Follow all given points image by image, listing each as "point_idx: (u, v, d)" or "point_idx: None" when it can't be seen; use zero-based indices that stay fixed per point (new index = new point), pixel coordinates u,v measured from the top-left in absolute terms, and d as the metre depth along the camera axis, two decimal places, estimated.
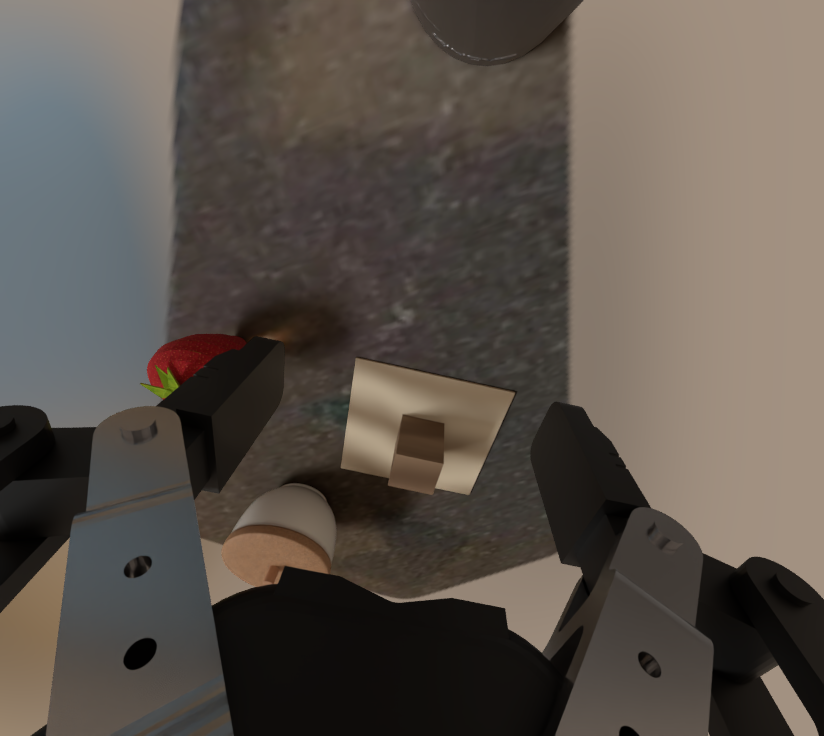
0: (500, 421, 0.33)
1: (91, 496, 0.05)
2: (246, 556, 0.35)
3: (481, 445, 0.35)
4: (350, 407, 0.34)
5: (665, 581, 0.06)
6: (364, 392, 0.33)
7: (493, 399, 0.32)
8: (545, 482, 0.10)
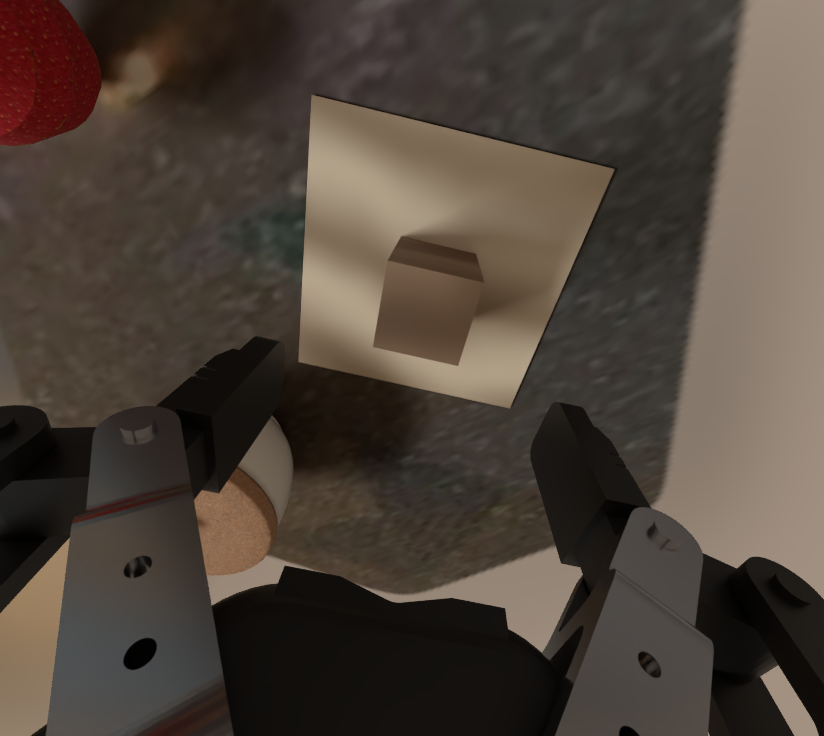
0: (578, 243, 0.18)
1: (91, 496, 0.05)
2: None
3: (539, 300, 0.20)
4: (307, 224, 0.19)
5: (665, 581, 0.06)
6: (331, 185, 0.18)
7: (571, 188, 0.17)
8: (545, 482, 0.10)
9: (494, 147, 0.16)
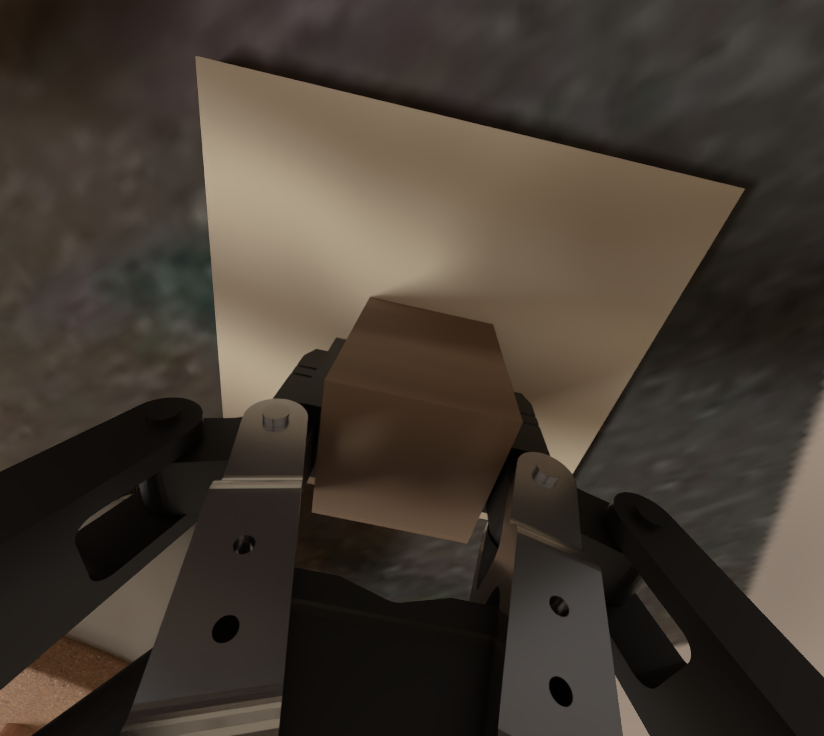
0: (665, 309, 0.11)
1: (228, 467, 0.06)
2: None
3: (593, 393, 0.12)
4: (216, 278, 0.11)
5: (554, 516, 0.06)
6: (248, 216, 0.10)
7: (662, 222, 0.10)
8: None
9: (529, 150, 0.09)
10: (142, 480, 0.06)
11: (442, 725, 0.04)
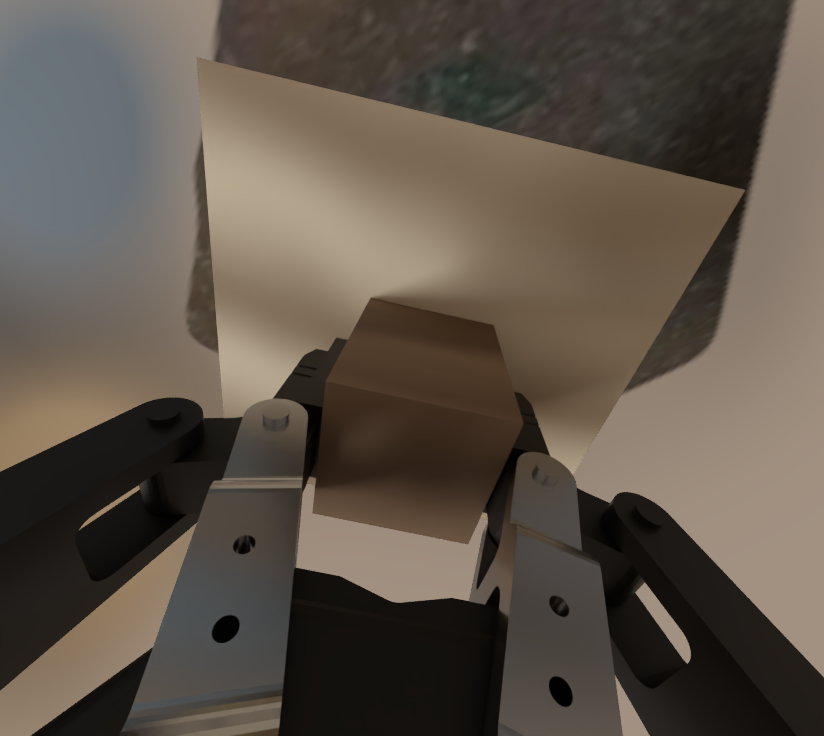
0: (666, 310, 0.11)
1: (229, 467, 0.06)
2: None
3: (593, 394, 0.12)
4: (217, 279, 0.11)
5: (554, 515, 0.06)
6: (249, 217, 0.10)
7: (662, 223, 0.10)
8: None
9: (530, 152, 0.09)
10: (142, 480, 0.06)
11: (442, 725, 0.04)
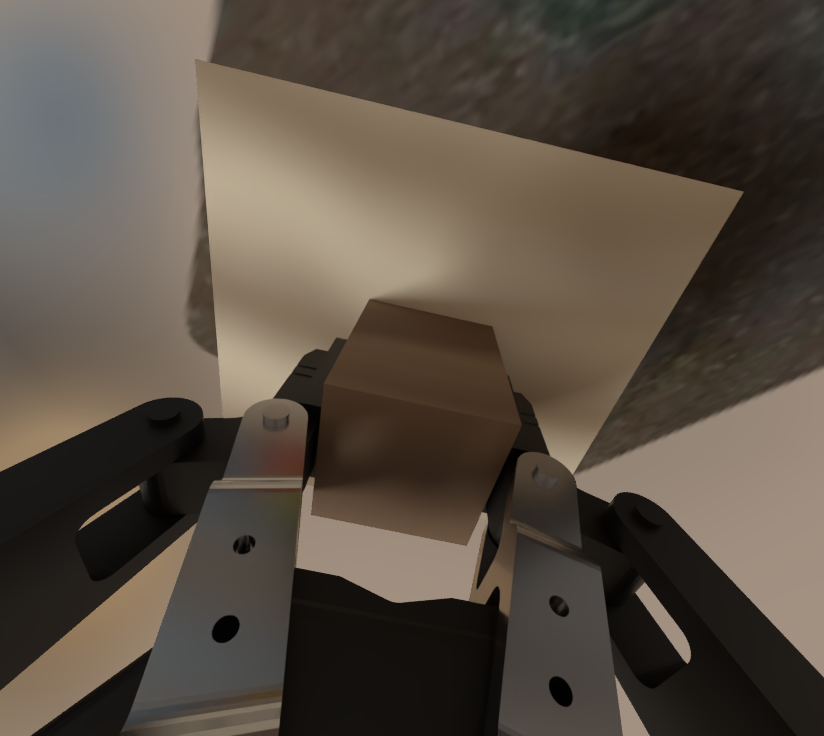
0: (665, 312, 0.11)
1: (228, 467, 0.06)
2: None
3: (592, 395, 0.12)
4: (215, 280, 0.11)
5: (554, 515, 0.06)
6: (247, 218, 0.10)
7: (661, 224, 0.10)
8: None
9: (528, 154, 0.09)
10: (142, 480, 0.06)
11: (442, 725, 0.04)
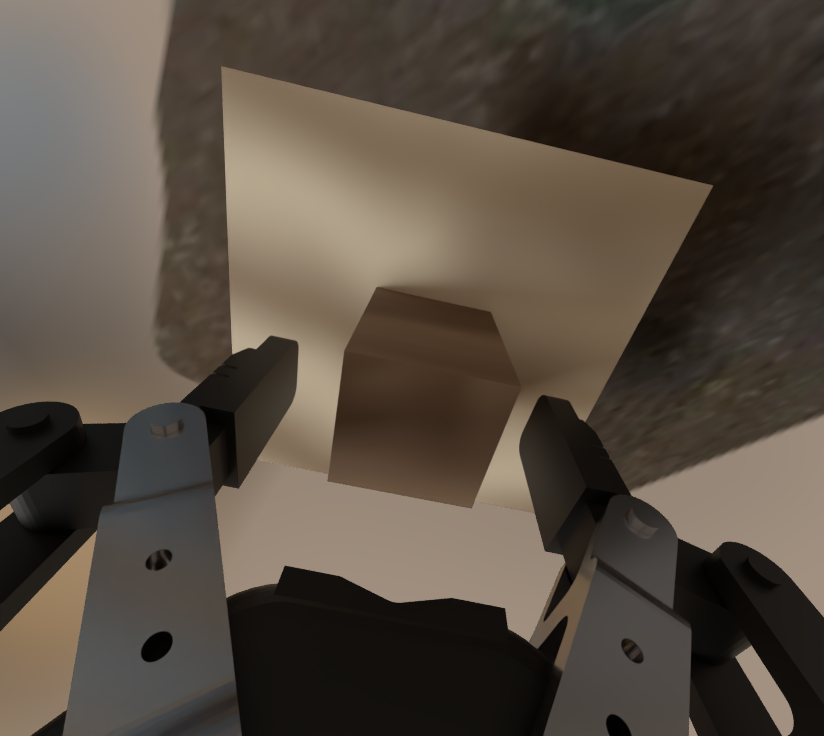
0: (647, 296, 0.12)
1: (118, 488, 0.05)
2: None
3: (583, 376, 0.13)
4: (232, 270, 0.12)
5: (644, 566, 0.06)
6: (264, 212, 0.11)
7: (641, 215, 0.11)
8: (532, 473, 0.10)
9: (522, 152, 0.10)
10: (19, 493, 0.05)
11: (487, 718, 0.04)
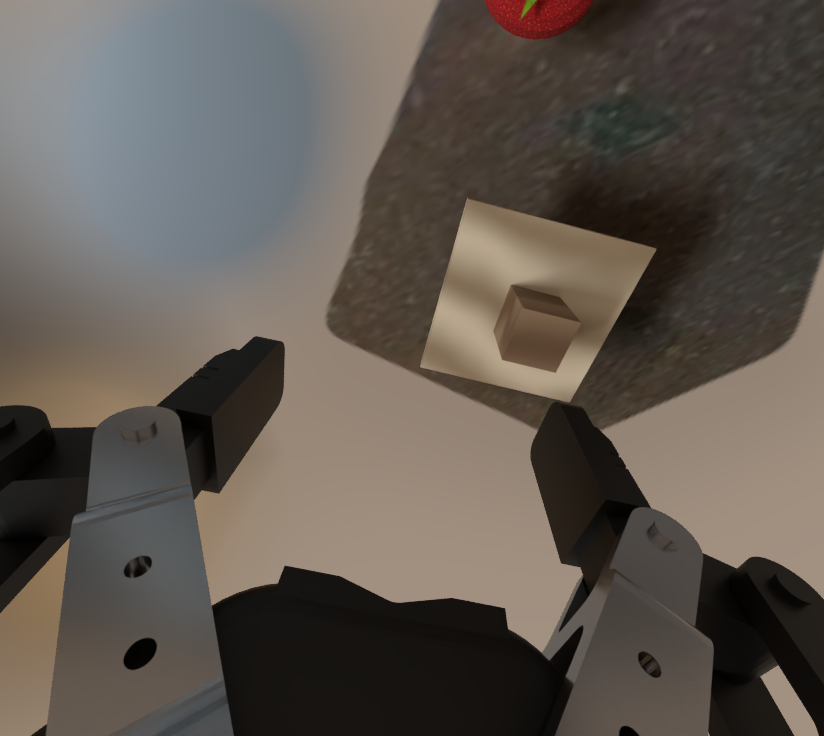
0: (629, 292, 0.28)
1: (90, 496, 0.05)
2: None
3: (599, 328, 0.29)
4: (447, 275, 0.28)
5: (666, 581, 0.06)
6: (469, 252, 0.27)
7: (627, 259, 0.26)
8: (545, 482, 0.10)
9: (581, 233, 0.26)
10: None
11: (497, 718, 0.04)
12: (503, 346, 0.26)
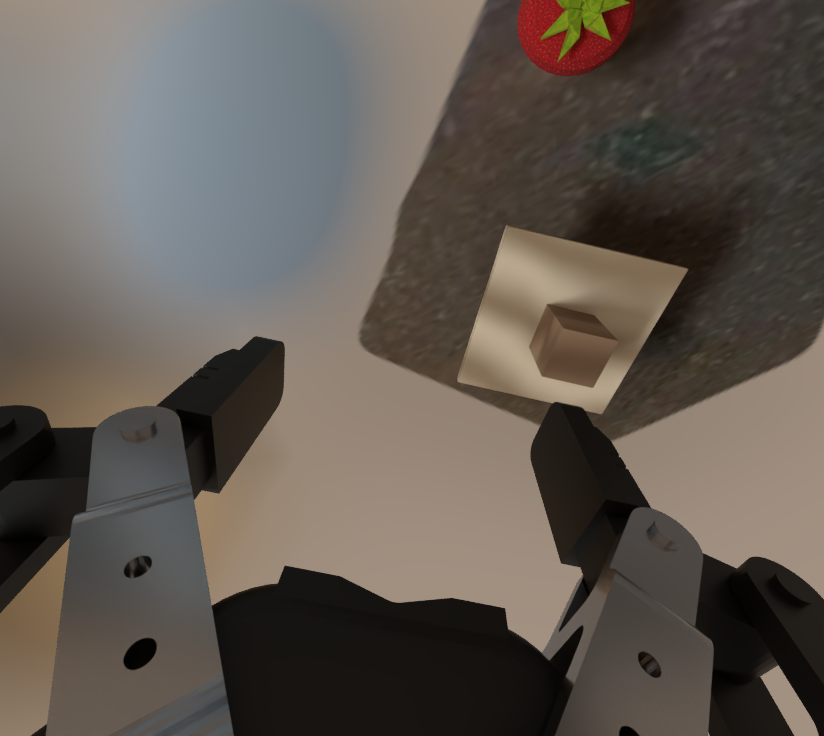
0: (661, 309, 0.29)
1: (91, 496, 0.05)
2: None
3: (631, 344, 0.30)
4: (486, 296, 0.30)
5: (666, 582, 0.06)
6: (507, 274, 0.29)
7: (660, 279, 0.28)
8: (545, 482, 0.10)
9: (615, 256, 0.27)
10: None
11: (497, 719, 0.04)
12: (542, 363, 0.28)
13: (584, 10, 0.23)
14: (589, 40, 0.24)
